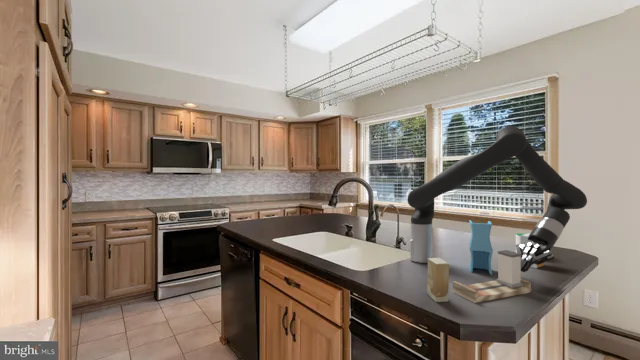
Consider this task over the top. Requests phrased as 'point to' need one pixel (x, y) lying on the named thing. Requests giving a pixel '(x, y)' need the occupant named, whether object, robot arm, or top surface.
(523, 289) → the fader track
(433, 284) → the skincare box
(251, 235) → the top surface
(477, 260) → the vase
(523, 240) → the small box
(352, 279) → the top surface
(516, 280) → the fader knob
